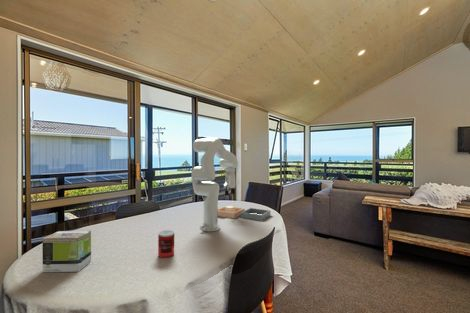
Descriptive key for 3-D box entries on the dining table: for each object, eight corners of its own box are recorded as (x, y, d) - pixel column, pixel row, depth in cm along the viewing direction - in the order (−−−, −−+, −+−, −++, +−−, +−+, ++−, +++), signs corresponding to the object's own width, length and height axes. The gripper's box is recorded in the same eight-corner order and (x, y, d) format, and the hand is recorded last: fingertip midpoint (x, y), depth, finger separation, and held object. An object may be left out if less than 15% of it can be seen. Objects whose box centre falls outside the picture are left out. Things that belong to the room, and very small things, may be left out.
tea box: (91, 261, 108) (91, 230, 108) (78, 272, 98) (78, 237, 98) (58, 261, 108) (58, 230, 107) (41, 273, 98) (41, 237, 97)
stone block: (231, 215, 187) (231, 208, 187) (224, 214, 190) (224, 207, 190) (234, 214, 192) (234, 206, 192) (228, 213, 195) (228, 205, 195)
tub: (233, 219, 179) (234, 213, 179) (214, 216, 188) (214, 210, 188) (244, 214, 195) (244, 208, 195) (226, 211, 203) (226, 205, 203)
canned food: (168, 250, 122) (168, 229, 122) (177, 254, 117) (177, 232, 117) (154, 254, 116) (155, 232, 116) (164, 259, 111) (164, 236, 111)
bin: (261, 222, 173) (261, 215, 173) (240, 218, 182) (240, 212, 182) (270, 216, 189) (270, 210, 189) (250, 213, 198) (250, 207, 197)
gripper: (228, 174, 181) (228, 196, 181) (239, 173, 196) (238, 193, 196) (220, 174, 185) (220, 195, 185) (231, 173, 200) (231, 192, 200)
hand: (229, 194), depth 190 cm, fingers open, 9 cm apart
